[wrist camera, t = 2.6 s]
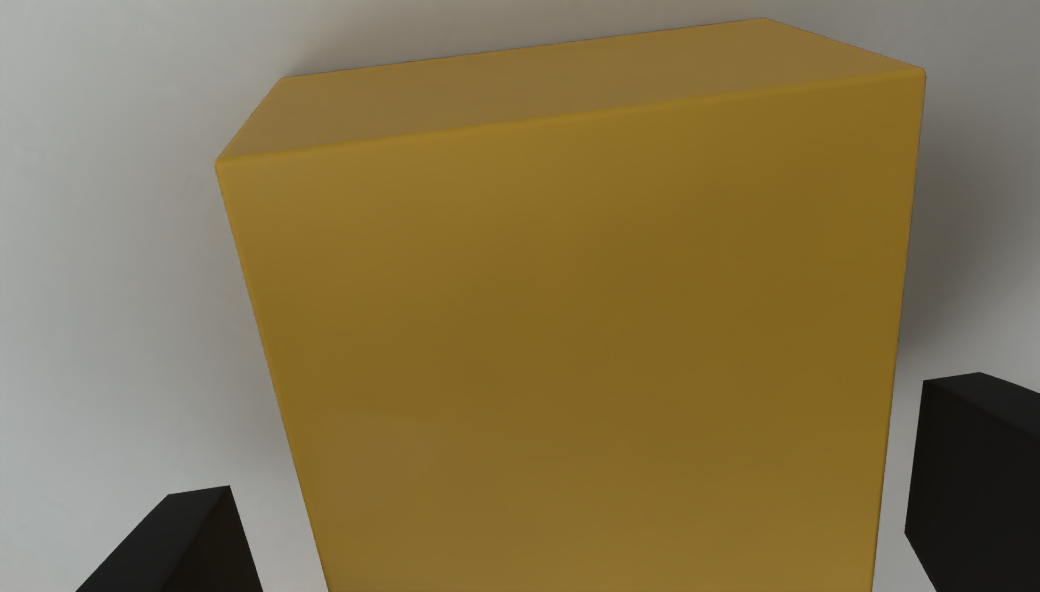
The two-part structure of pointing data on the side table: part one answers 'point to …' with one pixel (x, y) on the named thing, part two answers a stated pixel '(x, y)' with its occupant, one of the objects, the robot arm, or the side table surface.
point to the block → (587, 309)
